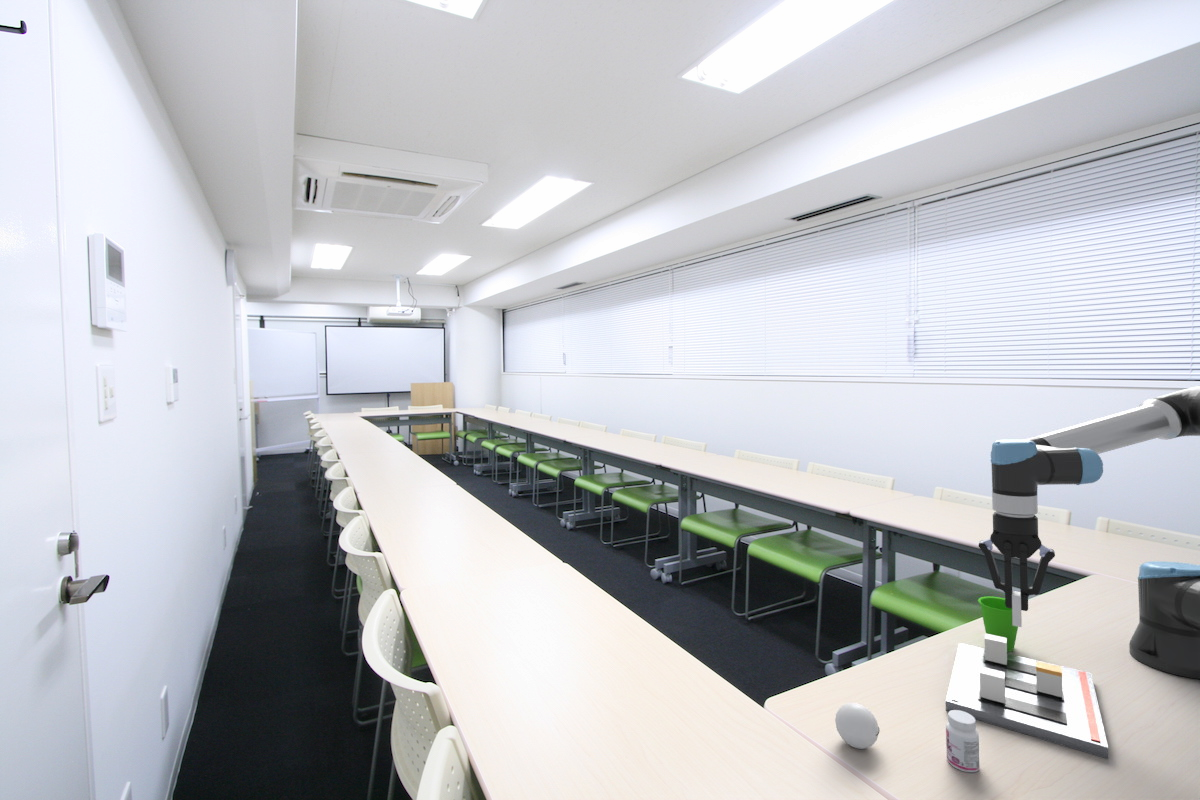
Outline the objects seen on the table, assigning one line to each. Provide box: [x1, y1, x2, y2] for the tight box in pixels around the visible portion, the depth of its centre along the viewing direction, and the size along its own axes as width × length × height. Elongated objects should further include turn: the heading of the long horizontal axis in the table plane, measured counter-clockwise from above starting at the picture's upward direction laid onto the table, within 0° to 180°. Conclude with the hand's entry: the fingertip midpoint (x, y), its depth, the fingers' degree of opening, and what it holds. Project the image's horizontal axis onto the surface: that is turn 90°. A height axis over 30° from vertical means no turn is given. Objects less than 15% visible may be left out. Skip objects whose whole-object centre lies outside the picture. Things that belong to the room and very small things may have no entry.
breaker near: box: [980, 666, 1005, 703], centre depth 108 cm, size 4×3×5 cm
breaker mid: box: [1036, 660, 1062, 697], centre depth 109 cm, size 4×3×5 cm
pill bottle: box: [945, 710, 980, 773], centre depth 93 cm, size 5×5×8 cm
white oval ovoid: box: [834, 702, 881, 750], centre depth 100 cm, size 10×7×7 cm
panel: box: [945, 642, 1109, 759], centre depth 112 cm, size 24×30×2 cm
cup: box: [977, 595, 1023, 653], centre depth 132 cm, size 9×9×11 cm
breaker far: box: [984, 632, 1008, 665], centre depth 122 cm, size 4×3×5 cm
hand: (1017, 623), depth 112 cm, fingers closed
